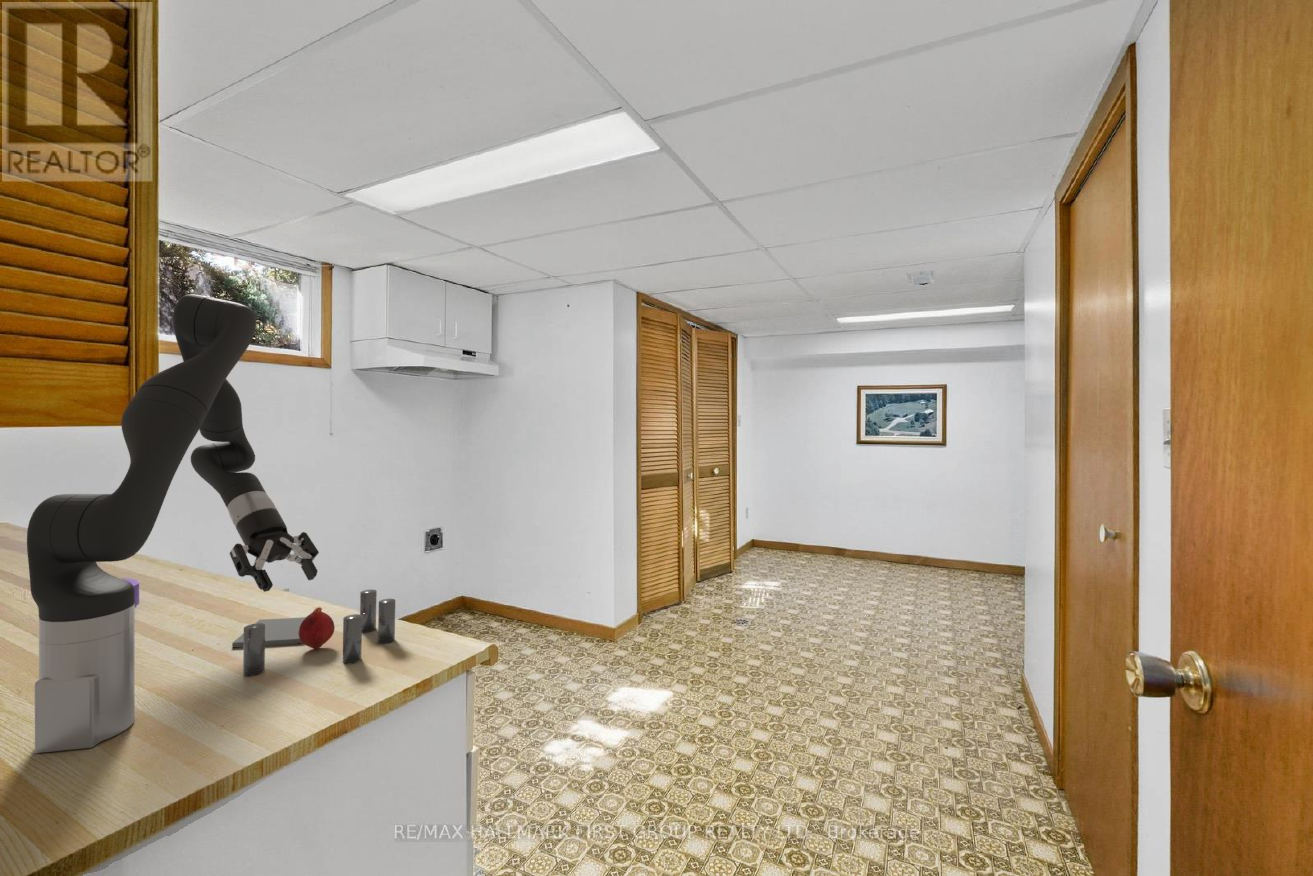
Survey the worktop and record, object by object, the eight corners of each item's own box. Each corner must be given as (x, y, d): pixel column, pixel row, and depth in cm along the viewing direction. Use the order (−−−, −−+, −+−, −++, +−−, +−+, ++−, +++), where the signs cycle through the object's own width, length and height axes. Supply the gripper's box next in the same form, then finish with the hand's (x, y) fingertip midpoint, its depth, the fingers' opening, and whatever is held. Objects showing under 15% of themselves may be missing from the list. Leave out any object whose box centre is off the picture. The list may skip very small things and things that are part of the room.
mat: (304, 643, 107) (304, 638, 107) (232, 648, 104) (232, 642, 104) (323, 620, 119) (323, 616, 119) (259, 624, 116) (259, 619, 116)
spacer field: (381, 666, 99) (382, 622, 99) (239, 676, 93) (240, 630, 93) (401, 624, 118) (402, 588, 118) (284, 631, 112) (285, 593, 112)
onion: (317, 657, 102) (317, 614, 101) (290, 653, 103) (291, 611, 103) (340, 644, 108) (341, 604, 107) (315, 641, 109) (316, 601, 108)
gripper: (225, 512, 104) (261, 581, 100) (300, 502, 117) (335, 563, 113) (209, 536, 107) (243, 605, 103) (284, 524, 120) (318, 584, 116)
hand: (291, 583), depth 108 cm, fingers open, 8 cm apart
